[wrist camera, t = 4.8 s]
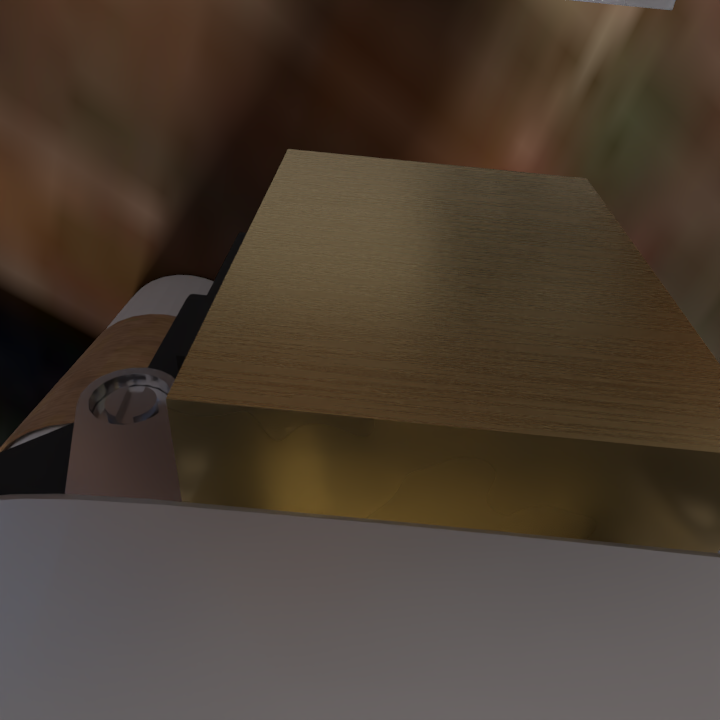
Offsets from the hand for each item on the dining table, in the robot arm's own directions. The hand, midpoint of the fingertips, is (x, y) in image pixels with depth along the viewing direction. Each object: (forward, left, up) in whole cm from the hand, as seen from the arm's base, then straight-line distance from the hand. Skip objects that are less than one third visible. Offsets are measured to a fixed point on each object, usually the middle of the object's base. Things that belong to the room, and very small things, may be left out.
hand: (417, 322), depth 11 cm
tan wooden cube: (0, 0, -1) cm, 1 cm away
